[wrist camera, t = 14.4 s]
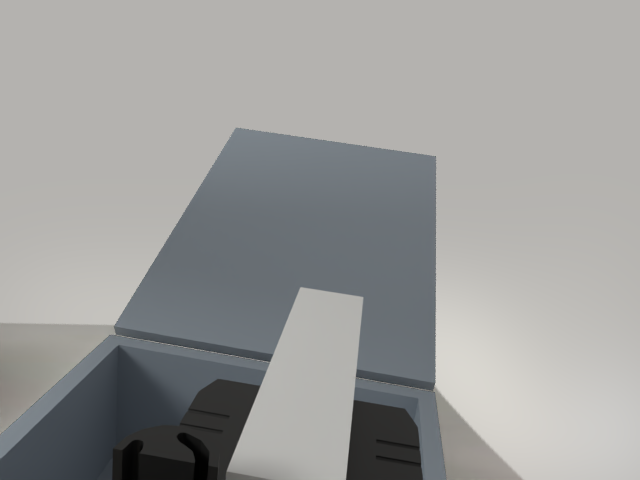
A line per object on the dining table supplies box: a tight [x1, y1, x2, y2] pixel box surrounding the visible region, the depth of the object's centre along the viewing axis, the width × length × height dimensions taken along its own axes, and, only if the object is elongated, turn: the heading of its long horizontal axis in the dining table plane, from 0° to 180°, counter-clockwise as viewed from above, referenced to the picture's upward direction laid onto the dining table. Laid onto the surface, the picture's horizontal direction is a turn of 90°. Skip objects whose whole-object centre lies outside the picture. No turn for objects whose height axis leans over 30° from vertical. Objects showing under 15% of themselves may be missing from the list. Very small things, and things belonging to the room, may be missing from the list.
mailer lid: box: [114, 128, 436, 391], centre depth 36 cm, size 22×16×1 cm
